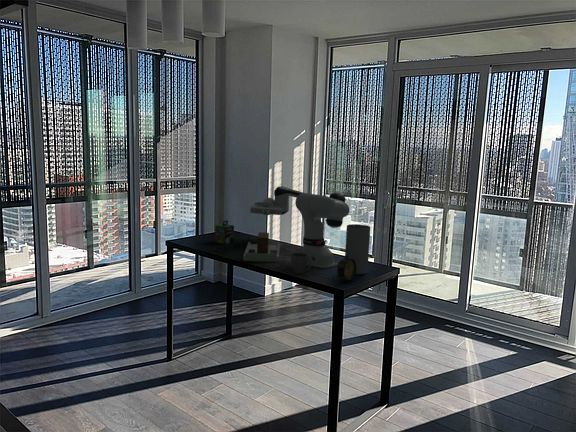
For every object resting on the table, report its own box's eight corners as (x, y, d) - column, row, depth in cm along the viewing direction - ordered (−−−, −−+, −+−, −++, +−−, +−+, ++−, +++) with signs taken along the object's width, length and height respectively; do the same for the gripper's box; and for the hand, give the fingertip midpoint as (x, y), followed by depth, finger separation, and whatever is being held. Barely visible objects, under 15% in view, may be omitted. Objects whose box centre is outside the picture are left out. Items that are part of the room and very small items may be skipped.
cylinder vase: (347, 267, 271) (350, 223, 266) (369, 270, 266) (372, 225, 262) (341, 273, 259) (343, 227, 255) (364, 276, 255) (367, 229, 250)
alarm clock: (343, 284, 239) (345, 252, 236) (334, 282, 243) (336, 250, 240) (356, 280, 247) (357, 249, 244) (347, 277, 251) (349, 247, 248)
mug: (287, 272, 257) (287, 254, 255) (296, 268, 264) (297, 251, 262) (306, 276, 250) (306, 258, 248) (315, 273, 257) (316, 255, 256)
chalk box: (224, 240, 327) (224, 218, 325) (234, 242, 322) (234, 220, 320) (214, 242, 320) (214, 220, 318) (224, 244, 315) (224, 222, 312)
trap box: (248, 246, 312) (248, 239, 312) (279, 247, 312) (279, 240, 312) (243, 260, 277) (243, 253, 276) (278, 261, 277) (278, 254, 276)
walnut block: (258, 251, 293) (259, 232, 291) (268, 252, 293) (269, 232, 291) (256, 257, 279) (257, 237, 277) (267, 258, 279) (267, 237, 277)
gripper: (283, 213, 317) (281, 219, 303) (251, 211, 317) (249, 217, 304) (283, 204, 315) (282, 209, 302) (252, 202, 316) (249, 207, 302)
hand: (265, 213), depth 303 cm, fingers closed
